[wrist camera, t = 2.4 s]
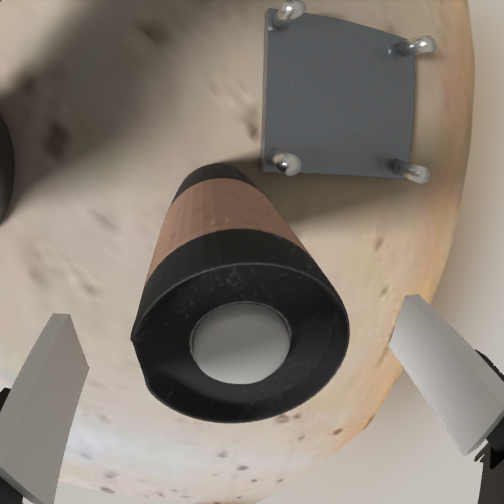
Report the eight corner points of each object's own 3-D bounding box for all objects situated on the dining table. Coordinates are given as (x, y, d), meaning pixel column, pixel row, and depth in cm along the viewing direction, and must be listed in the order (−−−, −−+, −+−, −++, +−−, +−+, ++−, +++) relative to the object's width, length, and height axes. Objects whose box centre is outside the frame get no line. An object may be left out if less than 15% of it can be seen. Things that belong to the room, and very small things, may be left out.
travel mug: (274, 198, 28) (389, 337, 10) (219, 256, 30) (249, 442, 12) (212, 143, 25) (237, 197, 7) (156, 207, 27) (89, 370, 9)
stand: (260, 169, 27) (274, 181, 22) (265, 13, 21) (279, -9, 16) (399, 176, 29) (431, 189, 24) (405, 43, 23) (438, 36, 18)
